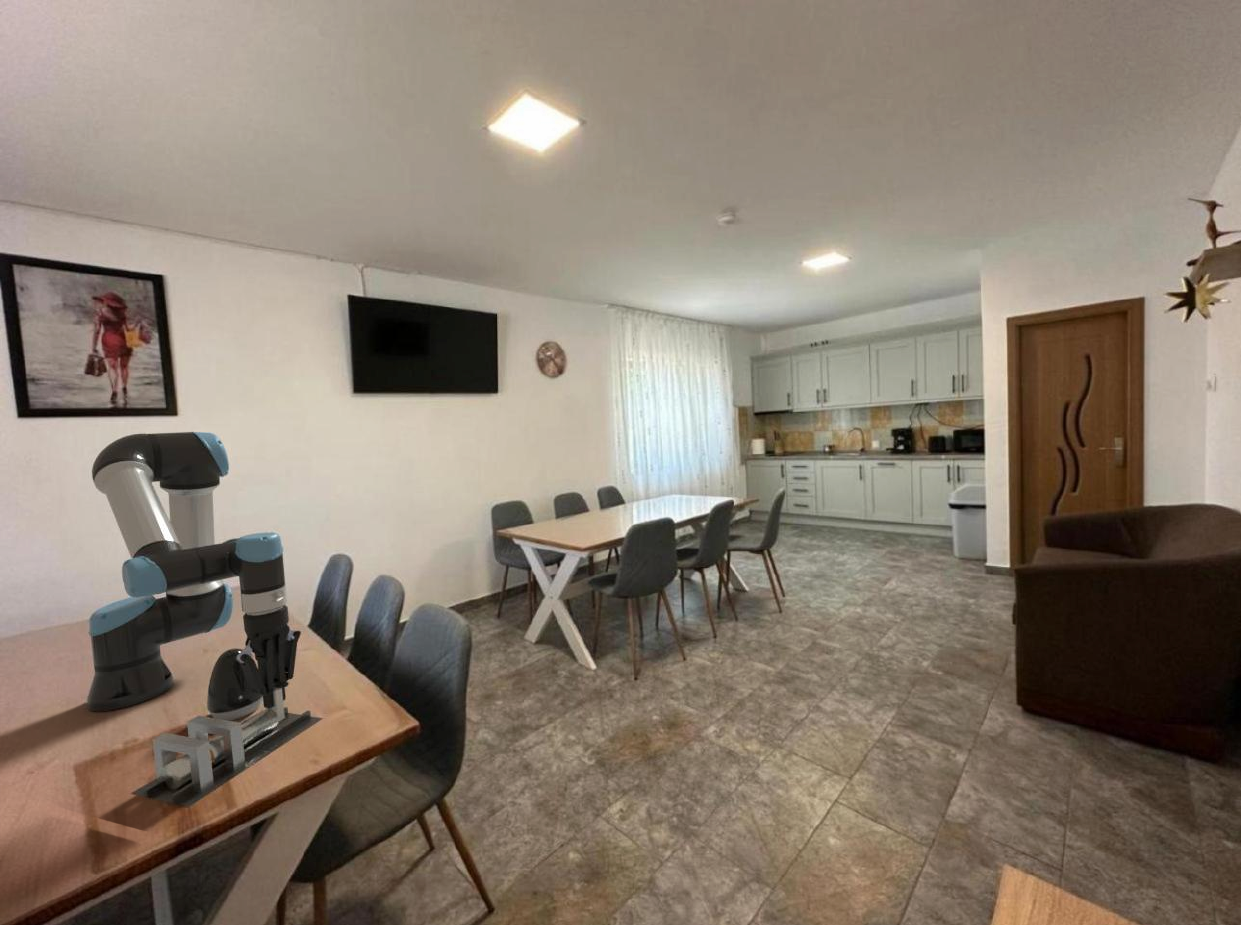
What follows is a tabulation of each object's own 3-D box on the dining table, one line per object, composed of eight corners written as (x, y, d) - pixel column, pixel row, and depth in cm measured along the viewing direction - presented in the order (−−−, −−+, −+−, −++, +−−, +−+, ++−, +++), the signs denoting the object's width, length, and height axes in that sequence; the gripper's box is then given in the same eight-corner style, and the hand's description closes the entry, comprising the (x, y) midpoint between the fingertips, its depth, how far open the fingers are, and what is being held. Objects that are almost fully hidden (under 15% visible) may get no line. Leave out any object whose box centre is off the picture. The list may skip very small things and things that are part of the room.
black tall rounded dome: (221, 734, 105) (213, 664, 104) (201, 721, 110) (193, 654, 109) (275, 710, 114) (268, 644, 112) (254, 698, 119) (247, 636, 118)
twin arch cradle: (131, 798, 87) (125, 748, 86) (274, 714, 112) (270, 675, 111) (188, 812, 83) (182, 760, 82) (323, 722, 107) (319, 682, 107)
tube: (183, 786, 86) (174, 762, 87) (168, 791, 88) (159, 767, 88) (281, 725, 104) (273, 705, 104) (266, 730, 105) (259, 710, 105)
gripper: (247, 622, 96) (259, 740, 97) (307, 599, 108) (317, 704, 110) (219, 619, 98) (231, 735, 100) (281, 597, 110) (291, 700, 112)
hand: (276, 719), depth 105 cm, fingers closed
